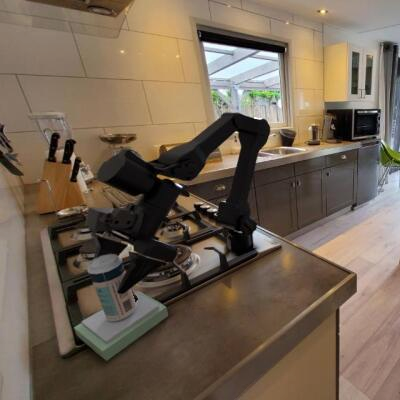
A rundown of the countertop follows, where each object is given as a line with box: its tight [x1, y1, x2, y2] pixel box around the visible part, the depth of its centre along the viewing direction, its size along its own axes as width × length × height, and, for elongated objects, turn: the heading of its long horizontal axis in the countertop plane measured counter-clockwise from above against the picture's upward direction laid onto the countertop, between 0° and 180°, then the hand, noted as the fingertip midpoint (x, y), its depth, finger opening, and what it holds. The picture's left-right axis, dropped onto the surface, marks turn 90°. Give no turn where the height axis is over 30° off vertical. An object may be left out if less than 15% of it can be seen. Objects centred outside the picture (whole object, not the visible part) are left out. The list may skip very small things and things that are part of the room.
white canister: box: [86, 254, 137, 321], centre depth 46 cm, size 5×5×12 cm
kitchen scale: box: [73, 290, 169, 362], centre depth 49 cm, size 11×10×3 cm
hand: (105, 284), depth 45 cm, fingers open, 9 cm apart
